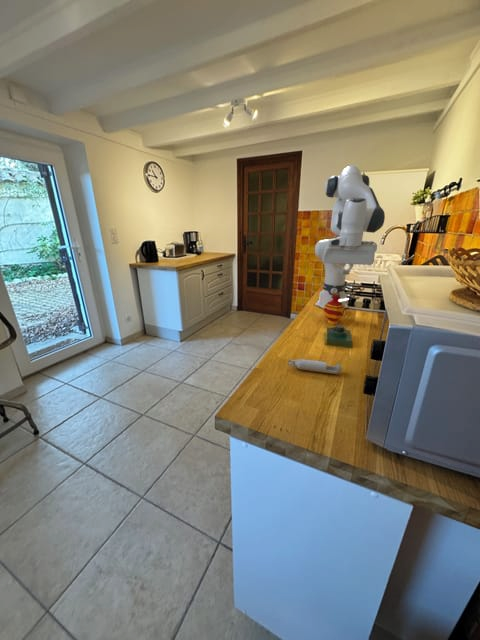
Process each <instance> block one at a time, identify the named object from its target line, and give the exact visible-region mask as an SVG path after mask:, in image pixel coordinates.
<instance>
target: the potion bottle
mask: <svg viewBox="0 0 480 640" xmlns="http://www.w3.org/2000/svg"><path fill="white" fill-rule="evenodd" d="M340 295H341V294H339V293H332V297H331V298H333V301H330V302H328V303H327V304H326V305H325V306H324V308H323V310H322V311H323V314H324V316H325V318H326V319H327V321H326V322H327V323H328V324H331V325H338V323H339V320H341V319H342V318H343V317H344V314H345V308H344V306H343V303H341V302H340V301H338V300H339V299H340Z"/></svg>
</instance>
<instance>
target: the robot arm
mask: <svg viewBox="0 0 480 640" xmlns="http://www.w3.org/2000/svg"><path fill="white" fill-rule="evenodd" d="M370 185H371V184H370V177H369V175H366V174H362V172H361V169H360V168H359V167H358V166H356V165H349V166H346V167H344V169H343V170H341V173H340V175H339V174H338V175H332V176H329V178H328V179H327V180H326V182H325V184H324V192H325V195H326V197H328V198H331V199H333V198H336V199H335V200H334V203H333V207H332V212H331V218H330V231H331V232H332V233H333V234H334V236H335V235H336V236H337V237H334V238H327V239H320V240H319V241H317V243H316V244H315V245H314V254H315V255H316V256H315V257H317V258H318V259H319V260H320V261H321V262H322V264H323V266H324V271H325V272H324V274H325V275H324V282H323V285H322V290H321V291H320V292H319V295H318V300H317V301H316V302H315V306H317V307H319V308H321V309H324V306H325V305H326V304H327V303H328V302H330V301H333V298H331V297H332V293H339V294H341V295H340V299H339V300H338V301H340V302H341V303H343V306H344V309H348V308H349V305H348V303H346V302H347V301H349V300H350V298H349V297H348V298H347V293H346V292H345V289H346V284H345V283H346V276H347V275H350V272H351V270H352V269H353V268H354V265H365V266H372V265H373V264H374V263H375V256H376V255H375V254H376V252H377V249H378V244H377V243H376V242H375V241H373V240H370V241H368V240H367V241H366V240H363V238H364V233H371V234H372V233H373V234H374V233H376V232H377V231H379V230H380V229H382V228H383V226H384V225H385V218H386V216H385V215H386V214H385V211H384V209H383V208H382V207H381V205H380V203H379V200H378V198H377V196H376V194H375V192H374V190H373V188H372V187H370ZM345 265H349V268H348V269H346V268H345Z"/></svg>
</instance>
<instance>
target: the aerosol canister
mask: <svg viewBox="0 0 480 640" xmlns="http://www.w3.org/2000/svg"><path fill="white" fill-rule="evenodd" d="M287 366H290V367H295V368H297V369H298V370H301V371H308V372H316V373H324V374H331V375H339V374H341V373H342V366H341V365H340V364H339V363H335V366H333V365H327V361H321V360H312V359H303V358H299V359H296V360H295V359H288V360H287Z"/></svg>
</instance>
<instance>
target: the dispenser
mask: <svg viewBox="0 0 480 640" xmlns="http://www.w3.org/2000/svg"><path fill="white" fill-rule="evenodd" d="M325 329H326V331H325V345H326V346H332V347H333V346H334V347H341V348H352V346H353V337H352V334H351V333H352V332H351V329H347V328H346V327H344V332H338V331H335V326H333V327H326V328H325Z"/></svg>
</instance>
